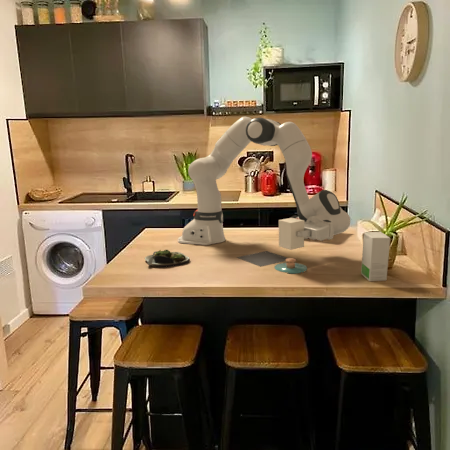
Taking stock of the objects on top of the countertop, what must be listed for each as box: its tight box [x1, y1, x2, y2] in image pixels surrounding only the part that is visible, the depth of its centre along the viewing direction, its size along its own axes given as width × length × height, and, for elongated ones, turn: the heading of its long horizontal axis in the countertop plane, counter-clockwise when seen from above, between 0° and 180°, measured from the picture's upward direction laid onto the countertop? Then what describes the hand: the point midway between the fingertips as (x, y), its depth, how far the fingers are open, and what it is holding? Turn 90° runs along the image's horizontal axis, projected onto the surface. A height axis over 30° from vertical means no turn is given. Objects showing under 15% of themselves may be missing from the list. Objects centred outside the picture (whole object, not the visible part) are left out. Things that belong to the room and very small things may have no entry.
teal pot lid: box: [274, 257, 308, 275], centre depth 177 cm, size 12×12×4 cm
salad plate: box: [144, 249, 190, 269], centre depth 191 cm, size 19×18×5 cm
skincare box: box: [360, 231, 391, 282], centre depth 164 cm, size 8×7×16 cm
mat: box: [235, 250, 288, 267], centre depth 190 cm, size 16×16×1 cm
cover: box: [278, 217, 305, 251], centre depth 174 cm, size 7×7×10 cm
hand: (289, 232), depth 174 cm, fingers closed on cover, 7 cm apart
